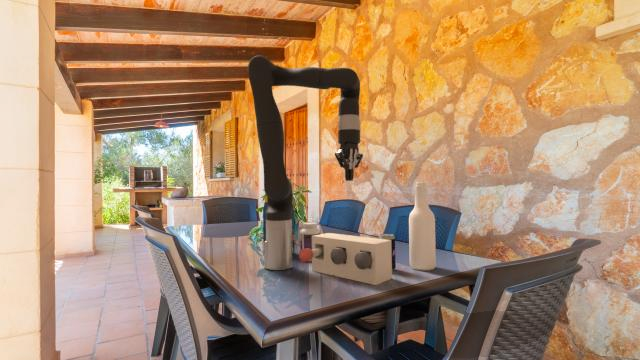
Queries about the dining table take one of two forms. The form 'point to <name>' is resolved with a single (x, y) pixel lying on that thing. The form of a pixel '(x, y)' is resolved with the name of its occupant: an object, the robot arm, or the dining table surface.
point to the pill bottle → (308, 235)
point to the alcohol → (422, 232)
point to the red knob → (310, 253)
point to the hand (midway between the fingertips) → (349, 180)
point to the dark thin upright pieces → (265, 225)
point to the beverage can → (392, 238)
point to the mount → (354, 245)
